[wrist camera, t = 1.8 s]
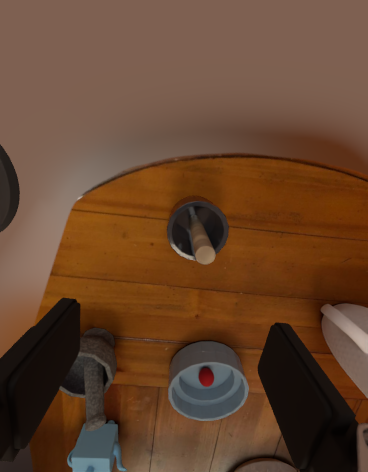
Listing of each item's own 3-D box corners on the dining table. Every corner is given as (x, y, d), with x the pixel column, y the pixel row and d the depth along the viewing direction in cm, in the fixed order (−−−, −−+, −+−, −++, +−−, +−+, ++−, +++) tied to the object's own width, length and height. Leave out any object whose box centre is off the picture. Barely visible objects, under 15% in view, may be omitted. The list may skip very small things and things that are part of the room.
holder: (163, 235, 32) (159, 251, 26) (178, 188, 30) (178, 192, 23) (208, 248, 33) (215, 267, 26) (225, 204, 31) (238, 212, 24)
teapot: (134, 419, 44) (125, 467, 37) (134, 438, 46) (125, 486, 39) (79, 417, 44) (59, 465, 37) (80, 436, 46) (62, 485, 38)
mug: (283, 310, 37) (336, 380, 24) (331, 268, 35) (416, 321, 22) (333, 350, 40) (403, 430, 28) (380, 314, 38) (480, 383, 25)
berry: (195, 373, 40) (197, 388, 37) (200, 362, 40) (202, 377, 37) (209, 376, 41) (212, 392, 38) (215, 366, 40) (217, 380, 37)
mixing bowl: (161, 385, 42) (158, 412, 37) (182, 331, 38) (182, 354, 33) (224, 399, 43) (230, 426, 38) (251, 348, 39) (261, 372, 35)
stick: (186, 224, 31) (192, 261, 18) (190, 213, 31) (199, 243, 17) (197, 227, 32) (211, 267, 18) (201, 217, 31) (218, 249, 18)
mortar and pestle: (61, 339, 38) (10, 411, 26) (94, 310, 36) (55, 374, 25) (107, 372, 40) (78, 451, 29) (140, 346, 39) (123, 419, 27)
